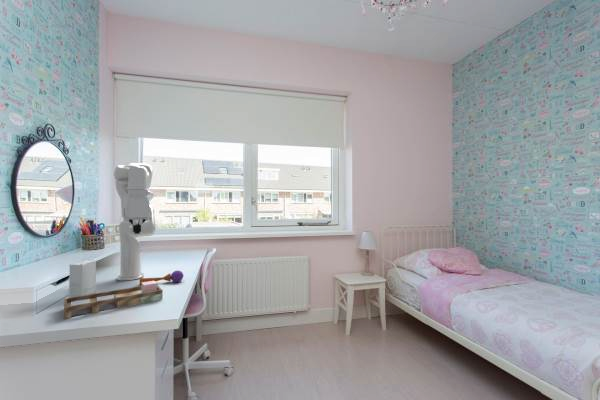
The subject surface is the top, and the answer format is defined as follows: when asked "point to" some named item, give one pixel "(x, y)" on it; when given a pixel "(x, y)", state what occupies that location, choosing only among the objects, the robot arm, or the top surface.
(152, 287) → the rose block
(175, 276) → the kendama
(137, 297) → the box
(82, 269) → the skincare box
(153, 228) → the robot arm
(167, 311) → the top surface
